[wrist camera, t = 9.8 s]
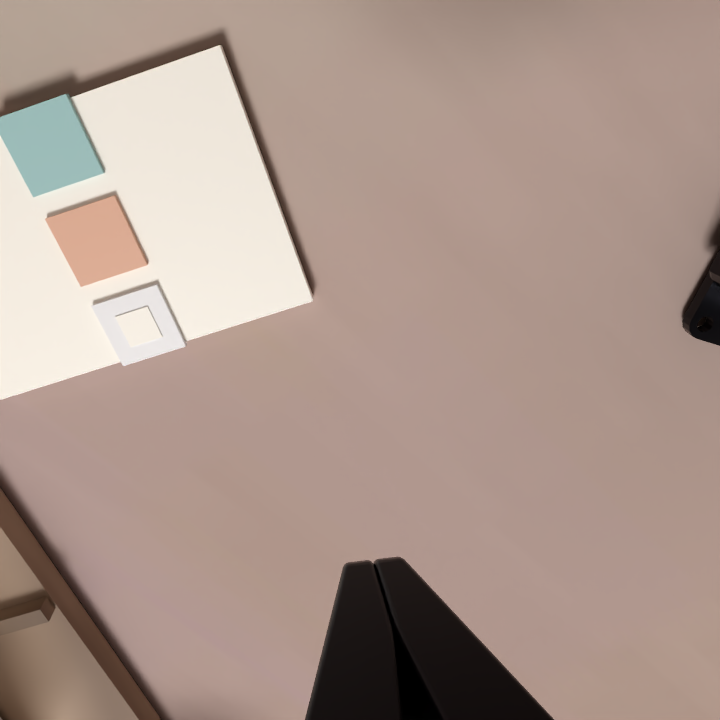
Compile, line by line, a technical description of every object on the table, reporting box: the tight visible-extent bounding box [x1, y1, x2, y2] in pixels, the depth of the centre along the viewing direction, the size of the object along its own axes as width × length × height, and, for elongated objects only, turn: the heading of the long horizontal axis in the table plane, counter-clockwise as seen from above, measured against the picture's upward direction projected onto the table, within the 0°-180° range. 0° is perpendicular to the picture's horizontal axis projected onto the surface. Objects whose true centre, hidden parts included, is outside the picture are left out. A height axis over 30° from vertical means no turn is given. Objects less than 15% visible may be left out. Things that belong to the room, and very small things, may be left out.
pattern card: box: [0, 45, 313, 400], centre depth 17 cm, size 10×7×1 cm
